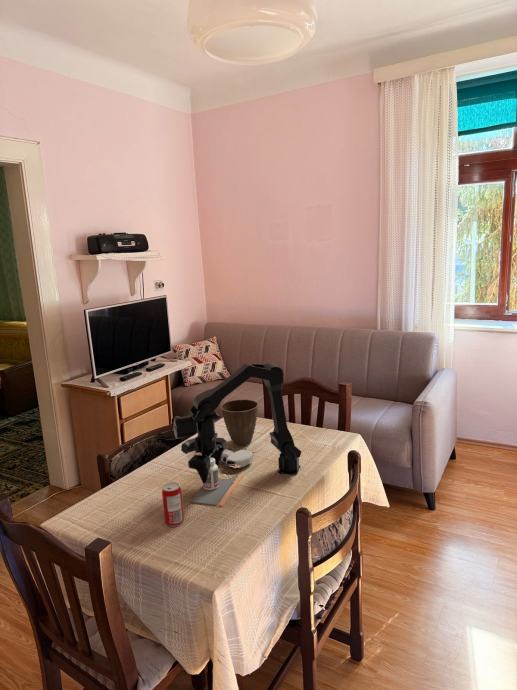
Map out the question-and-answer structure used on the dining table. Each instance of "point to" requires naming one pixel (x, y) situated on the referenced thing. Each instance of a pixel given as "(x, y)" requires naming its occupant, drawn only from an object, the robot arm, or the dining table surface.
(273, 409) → the robot arm
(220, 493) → the mat
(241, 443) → the plant pot
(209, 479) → the pill bottle
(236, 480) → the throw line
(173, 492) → the soda can
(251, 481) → the dining table surface
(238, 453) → the robot toy
